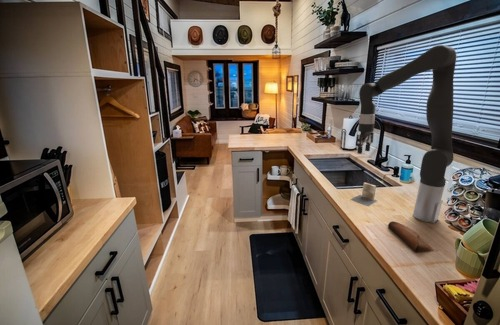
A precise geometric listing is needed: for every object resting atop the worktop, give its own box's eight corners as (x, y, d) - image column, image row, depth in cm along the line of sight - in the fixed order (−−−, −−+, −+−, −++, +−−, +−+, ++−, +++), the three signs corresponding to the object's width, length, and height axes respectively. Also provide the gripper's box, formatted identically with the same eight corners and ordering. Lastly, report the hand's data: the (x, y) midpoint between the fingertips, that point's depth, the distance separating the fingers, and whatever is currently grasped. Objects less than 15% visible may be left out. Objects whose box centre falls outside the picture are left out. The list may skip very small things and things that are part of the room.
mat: (377, 201, 136) (377, 200, 136) (368, 207, 130) (368, 206, 130) (359, 195, 144) (359, 194, 144) (350, 200, 138) (350, 199, 138)
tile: (373, 199, 138) (376, 185, 135) (372, 200, 137) (374, 186, 134) (363, 195, 142) (365, 182, 140) (361, 196, 141) (363, 183, 139)
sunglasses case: (436, 251, 96) (431, 238, 94) (419, 260, 97) (413, 247, 95) (405, 226, 113) (400, 214, 111) (391, 233, 114) (385, 222, 112)
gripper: (367, 124, 128) (363, 155, 133) (379, 121, 137) (376, 151, 142) (352, 123, 134) (350, 153, 138) (366, 120, 143) (363, 149, 147)
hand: (363, 152), depth 140 cm, fingers open, 8 cm apart
